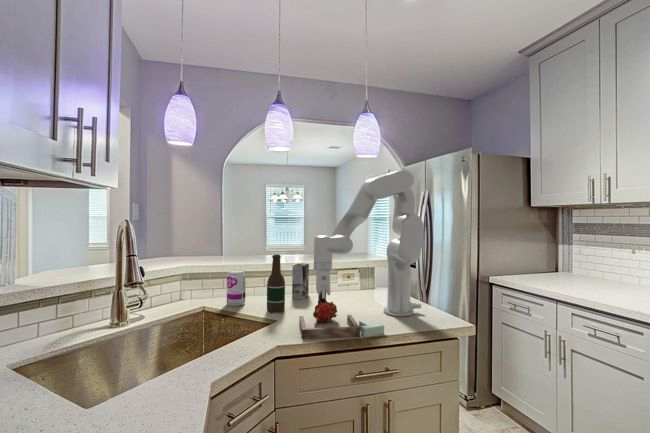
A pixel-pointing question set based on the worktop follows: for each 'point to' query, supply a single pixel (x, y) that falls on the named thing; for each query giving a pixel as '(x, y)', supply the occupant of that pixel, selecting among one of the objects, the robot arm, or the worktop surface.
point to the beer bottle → (276, 288)
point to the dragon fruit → (325, 311)
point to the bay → (330, 330)
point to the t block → (370, 328)
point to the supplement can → (236, 287)
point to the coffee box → (300, 281)
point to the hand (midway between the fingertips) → (321, 310)
